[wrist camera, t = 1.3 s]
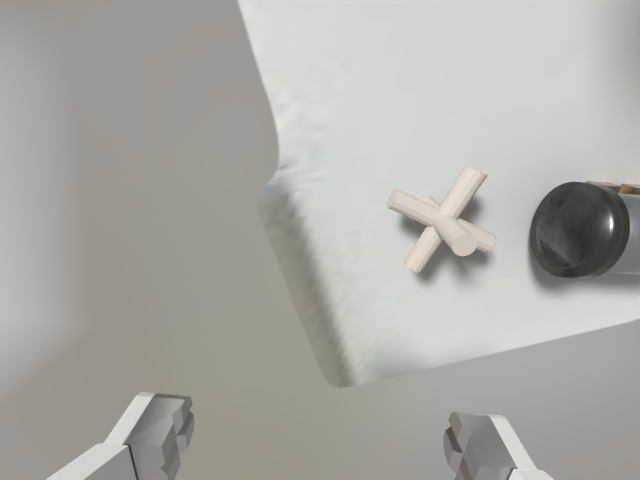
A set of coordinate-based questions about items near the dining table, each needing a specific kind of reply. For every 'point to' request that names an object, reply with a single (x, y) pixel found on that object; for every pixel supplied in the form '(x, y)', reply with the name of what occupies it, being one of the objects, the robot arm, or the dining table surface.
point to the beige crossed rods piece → (443, 220)
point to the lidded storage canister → (588, 230)
